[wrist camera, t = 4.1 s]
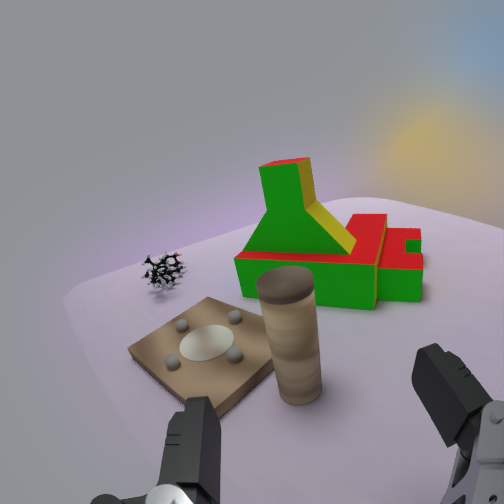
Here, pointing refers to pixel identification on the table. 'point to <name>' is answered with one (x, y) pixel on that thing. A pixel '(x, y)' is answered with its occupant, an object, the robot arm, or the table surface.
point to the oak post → (292, 331)
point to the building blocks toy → (329, 245)
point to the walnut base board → (208, 353)
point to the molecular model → (158, 270)
